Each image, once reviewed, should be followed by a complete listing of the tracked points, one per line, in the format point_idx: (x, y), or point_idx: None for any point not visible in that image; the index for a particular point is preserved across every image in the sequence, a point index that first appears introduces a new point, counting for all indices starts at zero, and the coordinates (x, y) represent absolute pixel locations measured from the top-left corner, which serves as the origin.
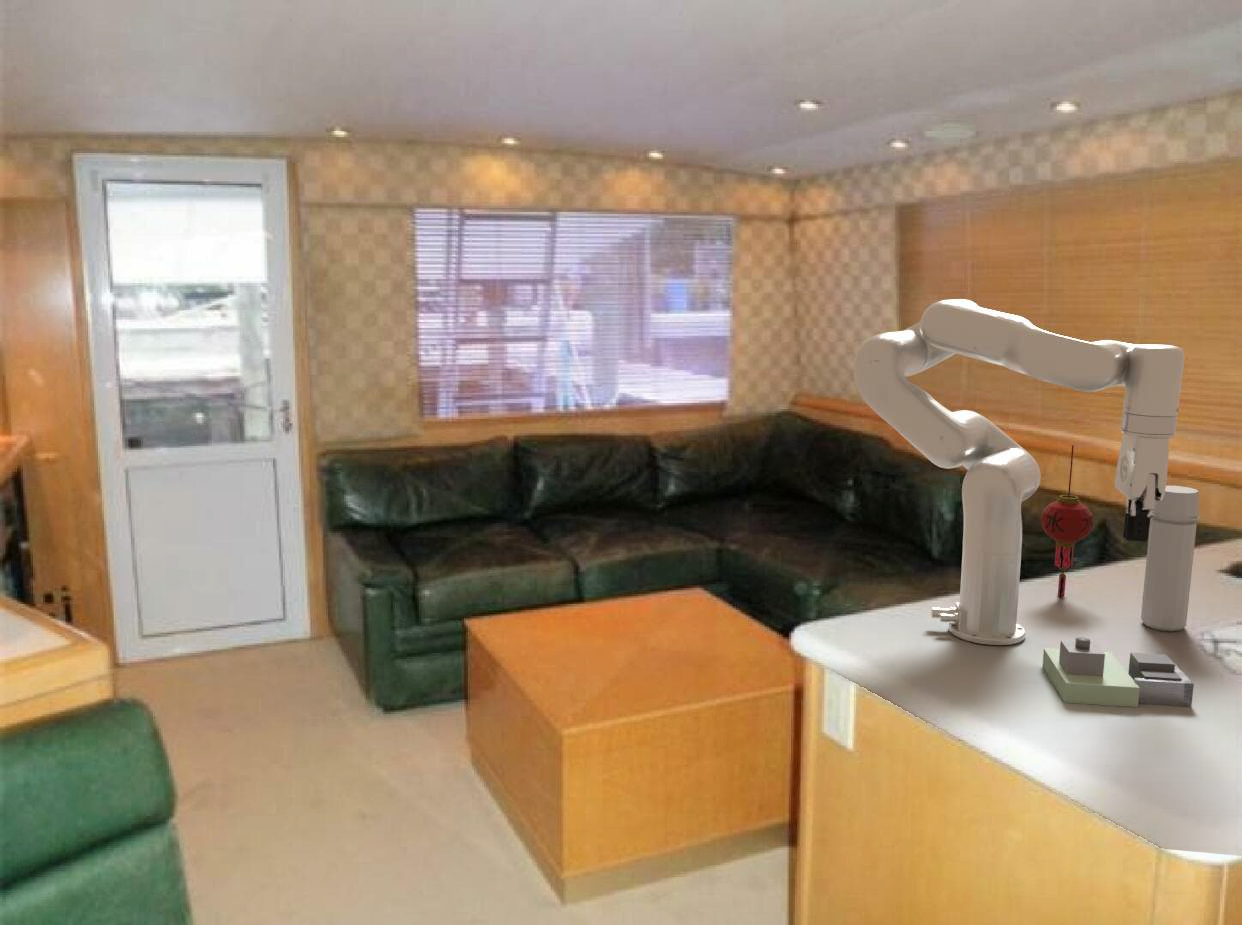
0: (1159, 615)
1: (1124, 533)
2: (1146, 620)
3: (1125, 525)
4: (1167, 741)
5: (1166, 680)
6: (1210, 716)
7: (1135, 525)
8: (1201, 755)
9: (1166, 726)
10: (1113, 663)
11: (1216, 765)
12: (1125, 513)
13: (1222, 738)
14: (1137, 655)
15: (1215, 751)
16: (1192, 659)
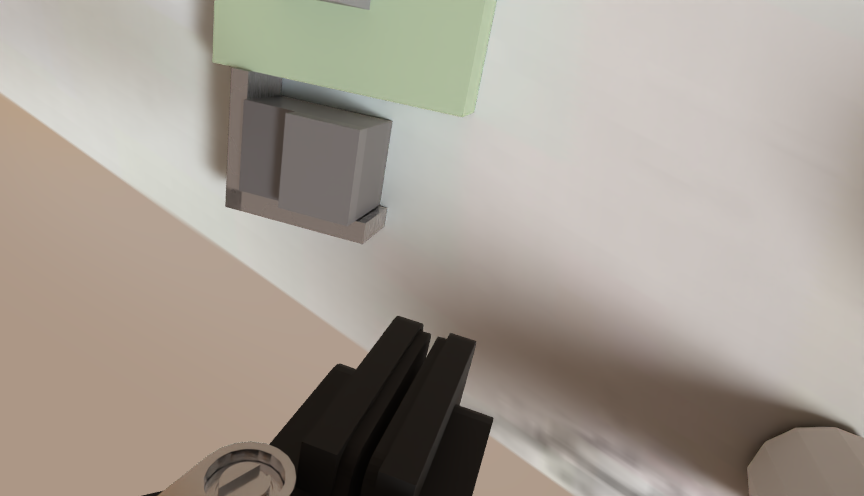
0: (786, 464)
1: (444, 350)
2: (822, 433)
3: (421, 391)
4: (91, 36)
5: (237, 149)
6: (216, 203)
7: (295, 419)
8: (48, 74)
9: (157, 75)
10: (372, 77)
11: (18, 79)
12: (414, 483)
13: (123, 162)
14: (337, 138)
15: (69, 113)
16: (536, 376)
